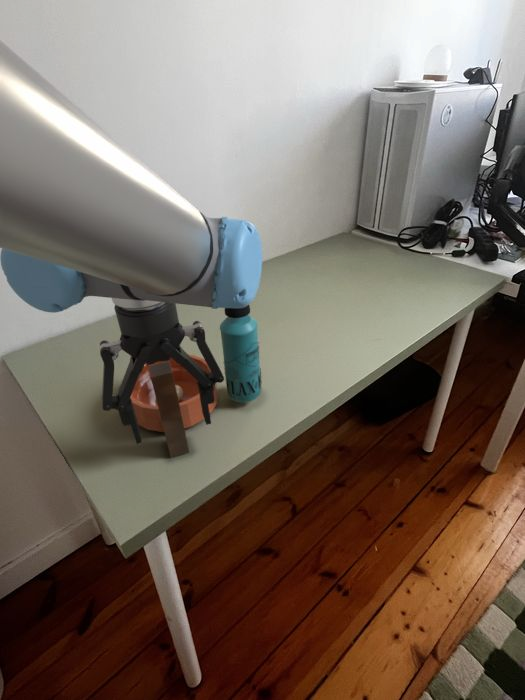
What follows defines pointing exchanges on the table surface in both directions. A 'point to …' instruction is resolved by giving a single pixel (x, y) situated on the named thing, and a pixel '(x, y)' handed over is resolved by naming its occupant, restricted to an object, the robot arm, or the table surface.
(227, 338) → the beverage bottle
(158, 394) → the stick
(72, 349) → the table surface
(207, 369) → the bowl
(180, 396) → the bead
